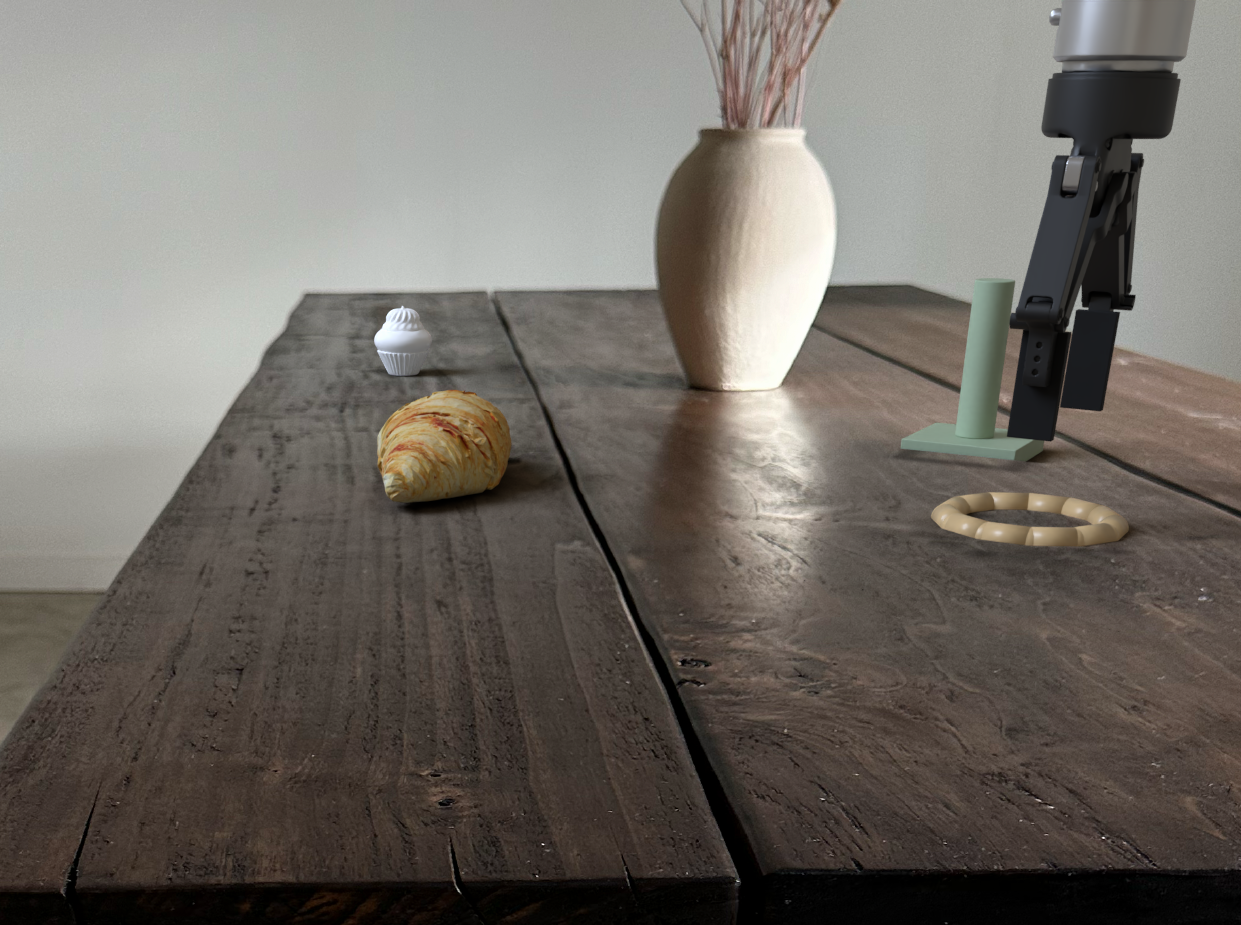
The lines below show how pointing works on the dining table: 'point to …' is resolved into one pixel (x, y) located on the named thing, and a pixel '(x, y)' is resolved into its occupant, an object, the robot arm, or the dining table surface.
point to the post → (980, 385)
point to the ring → (956, 520)
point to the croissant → (443, 447)
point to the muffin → (403, 342)
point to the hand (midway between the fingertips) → (1056, 423)
